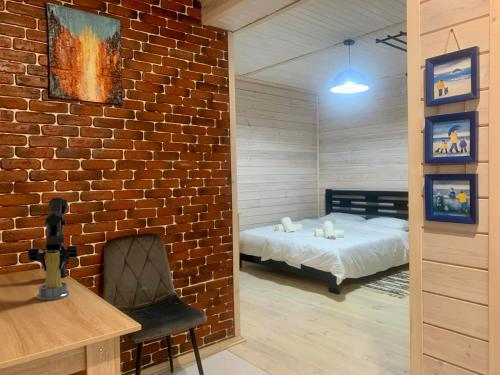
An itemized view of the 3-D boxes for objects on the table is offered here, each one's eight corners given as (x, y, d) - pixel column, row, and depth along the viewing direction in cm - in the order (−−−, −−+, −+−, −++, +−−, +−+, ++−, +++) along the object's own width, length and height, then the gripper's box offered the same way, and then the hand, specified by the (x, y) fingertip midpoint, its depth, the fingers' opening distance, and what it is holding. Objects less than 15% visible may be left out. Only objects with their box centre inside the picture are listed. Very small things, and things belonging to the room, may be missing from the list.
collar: (53, 290, 168) (53, 280, 168) (75, 293, 164) (75, 282, 164) (29, 299, 156) (29, 288, 156) (53, 302, 153) (52, 290, 153)
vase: (41, 287, 159) (40, 252, 158) (55, 283, 165) (54, 250, 164) (51, 288, 156) (50, 254, 156) (64, 284, 162) (63, 251, 161)
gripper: (28, 229, 159) (24, 261, 150) (77, 227, 167) (76, 257, 157) (30, 244, 167) (27, 276, 157) (77, 242, 174) (77, 271, 165)
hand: (52, 269), depth 159 cm, fingers closed on vase, 5 cm apart
